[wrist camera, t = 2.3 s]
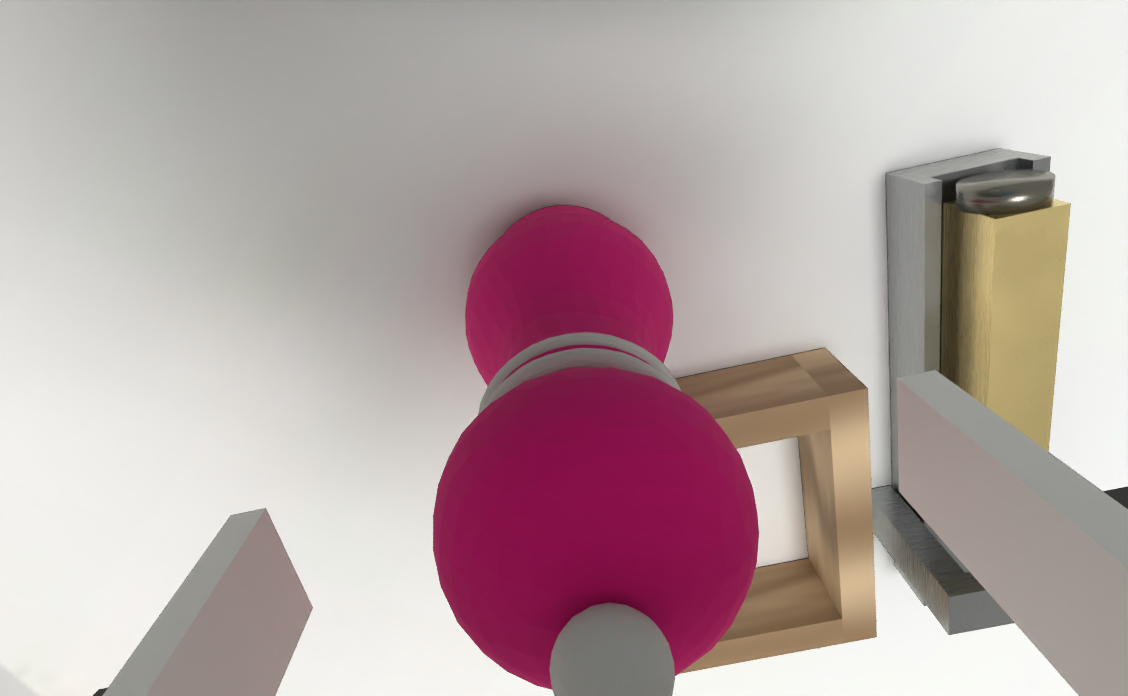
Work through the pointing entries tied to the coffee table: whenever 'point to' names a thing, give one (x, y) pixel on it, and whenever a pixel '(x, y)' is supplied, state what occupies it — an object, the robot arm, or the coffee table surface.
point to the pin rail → (917, 351)
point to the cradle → (831, 503)
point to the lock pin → (1005, 294)
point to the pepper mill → (588, 472)
